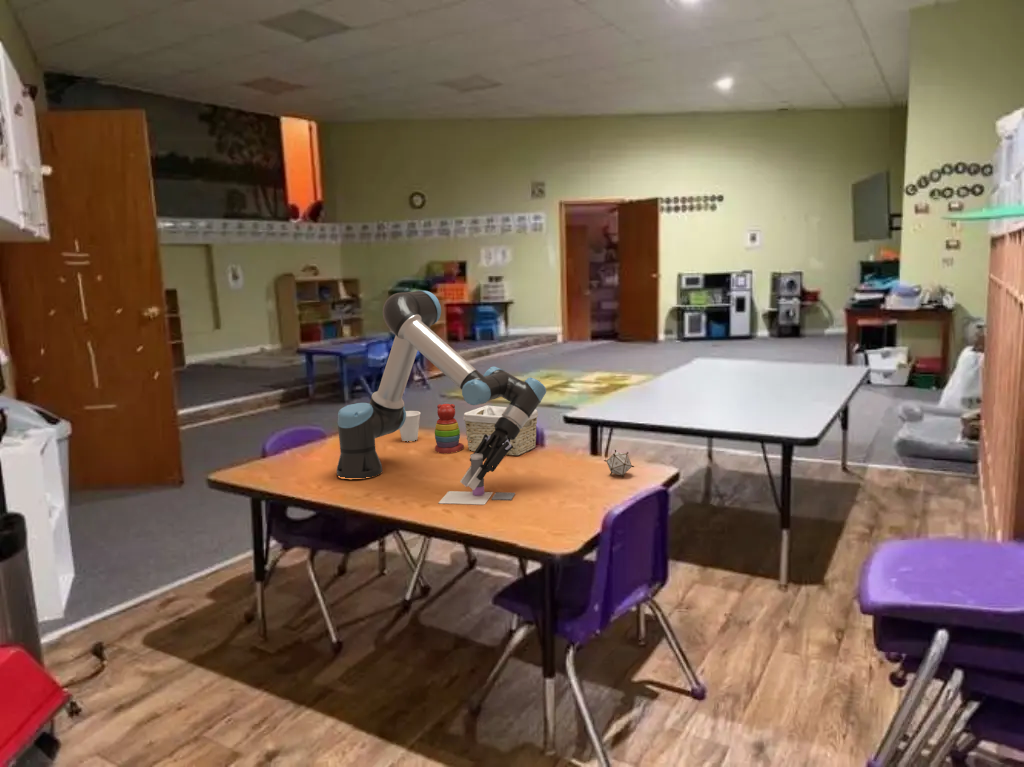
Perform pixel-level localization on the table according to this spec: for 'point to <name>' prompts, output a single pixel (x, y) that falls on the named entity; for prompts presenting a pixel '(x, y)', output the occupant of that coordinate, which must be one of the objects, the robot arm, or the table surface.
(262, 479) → the table surface
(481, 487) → the marker
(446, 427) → the stacking bear
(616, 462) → the game die
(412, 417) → the cup
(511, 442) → the storage basket
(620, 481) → the table surface
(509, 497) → the rest pad
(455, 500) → the paper
